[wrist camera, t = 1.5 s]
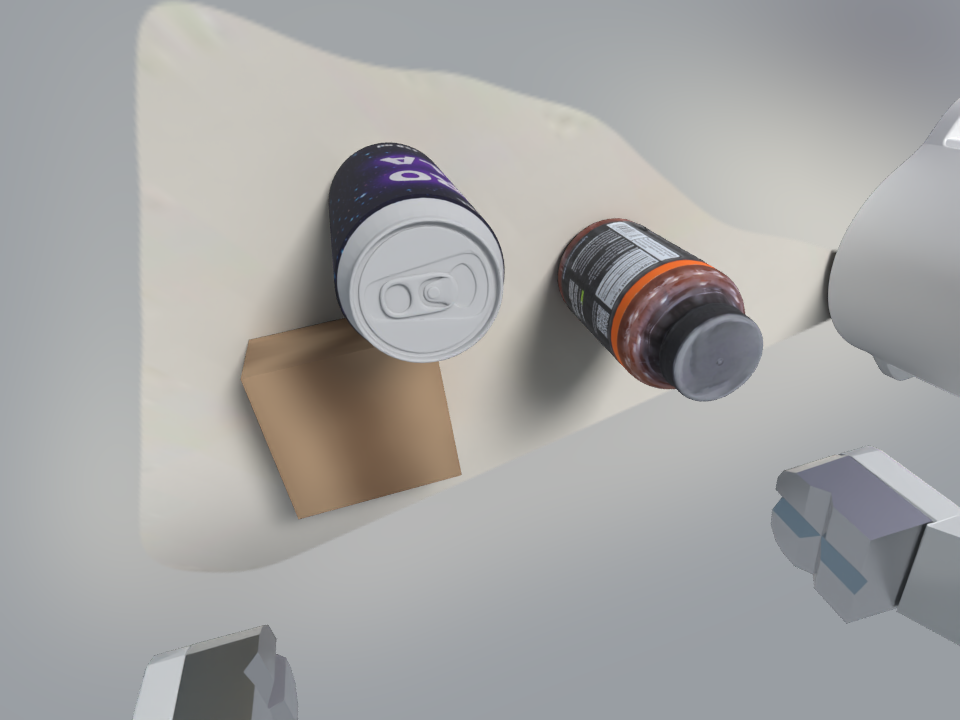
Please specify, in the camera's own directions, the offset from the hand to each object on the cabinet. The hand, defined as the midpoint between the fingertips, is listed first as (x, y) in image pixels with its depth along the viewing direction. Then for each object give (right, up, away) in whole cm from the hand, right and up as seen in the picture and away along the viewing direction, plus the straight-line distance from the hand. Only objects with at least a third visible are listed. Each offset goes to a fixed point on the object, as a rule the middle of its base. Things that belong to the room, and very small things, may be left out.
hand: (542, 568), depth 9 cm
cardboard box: (-8, +1, +24) cm, 25 cm away
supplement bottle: (+6, +9, +24) cm, 26 cm away
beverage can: (-5, +11, +20) cm, 23 cm away
